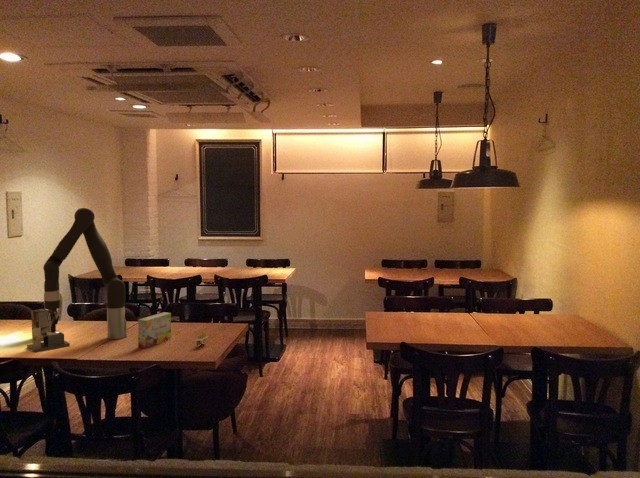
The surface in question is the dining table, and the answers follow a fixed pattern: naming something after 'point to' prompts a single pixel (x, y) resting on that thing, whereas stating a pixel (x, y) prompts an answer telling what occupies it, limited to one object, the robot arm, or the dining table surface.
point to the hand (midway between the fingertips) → (53, 331)
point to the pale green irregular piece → (201, 339)
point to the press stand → (47, 341)
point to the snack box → (154, 329)
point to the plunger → (49, 334)
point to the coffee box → (40, 321)
